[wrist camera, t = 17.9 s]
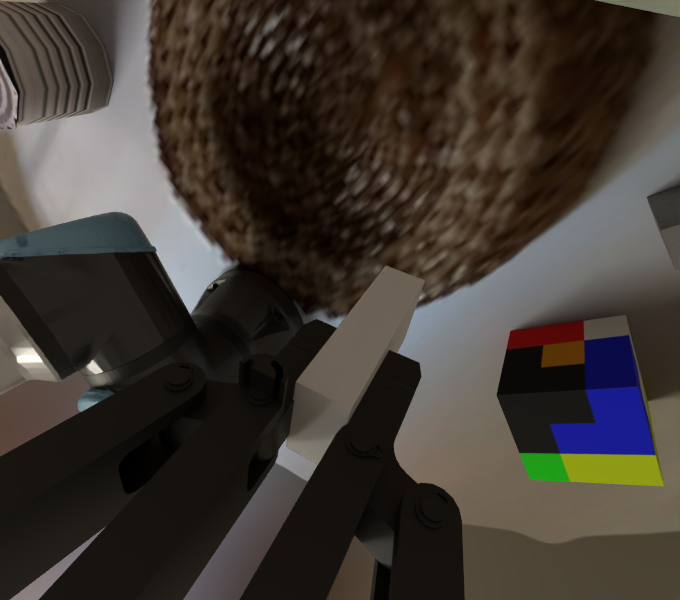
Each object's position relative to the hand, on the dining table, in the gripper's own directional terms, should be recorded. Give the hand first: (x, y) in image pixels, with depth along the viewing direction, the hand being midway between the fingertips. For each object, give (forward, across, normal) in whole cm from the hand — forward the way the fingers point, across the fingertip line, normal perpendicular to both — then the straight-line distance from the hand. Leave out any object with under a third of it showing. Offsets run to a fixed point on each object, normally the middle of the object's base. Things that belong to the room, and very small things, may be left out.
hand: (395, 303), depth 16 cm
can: (+27, -49, -4) cm, 56 cm away
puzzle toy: (+26, +15, -17) cm, 35 cm away
